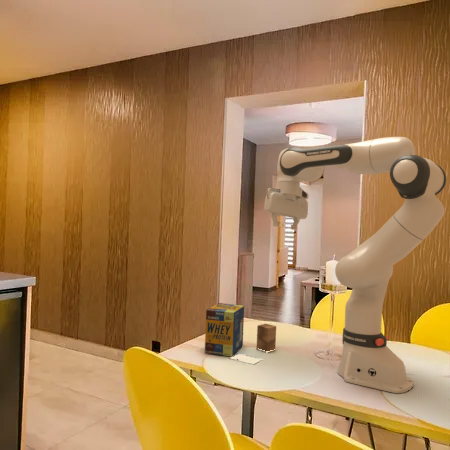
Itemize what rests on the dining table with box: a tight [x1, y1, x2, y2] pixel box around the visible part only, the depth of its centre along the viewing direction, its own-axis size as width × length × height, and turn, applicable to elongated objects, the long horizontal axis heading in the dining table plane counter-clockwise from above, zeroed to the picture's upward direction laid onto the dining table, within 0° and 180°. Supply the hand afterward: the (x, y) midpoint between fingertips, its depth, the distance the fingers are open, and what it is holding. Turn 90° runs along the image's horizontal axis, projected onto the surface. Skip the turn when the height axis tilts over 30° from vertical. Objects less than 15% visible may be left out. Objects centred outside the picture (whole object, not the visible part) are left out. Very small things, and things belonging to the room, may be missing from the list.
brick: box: [256, 323, 277, 351], centre depth 153 cm, size 5×5×9 cm
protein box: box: [204, 302, 245, 357], centre depth 151 cm, size 10×15×16 cm
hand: (285, 228), depth 152 cm, fingers open, 8 cm apart
